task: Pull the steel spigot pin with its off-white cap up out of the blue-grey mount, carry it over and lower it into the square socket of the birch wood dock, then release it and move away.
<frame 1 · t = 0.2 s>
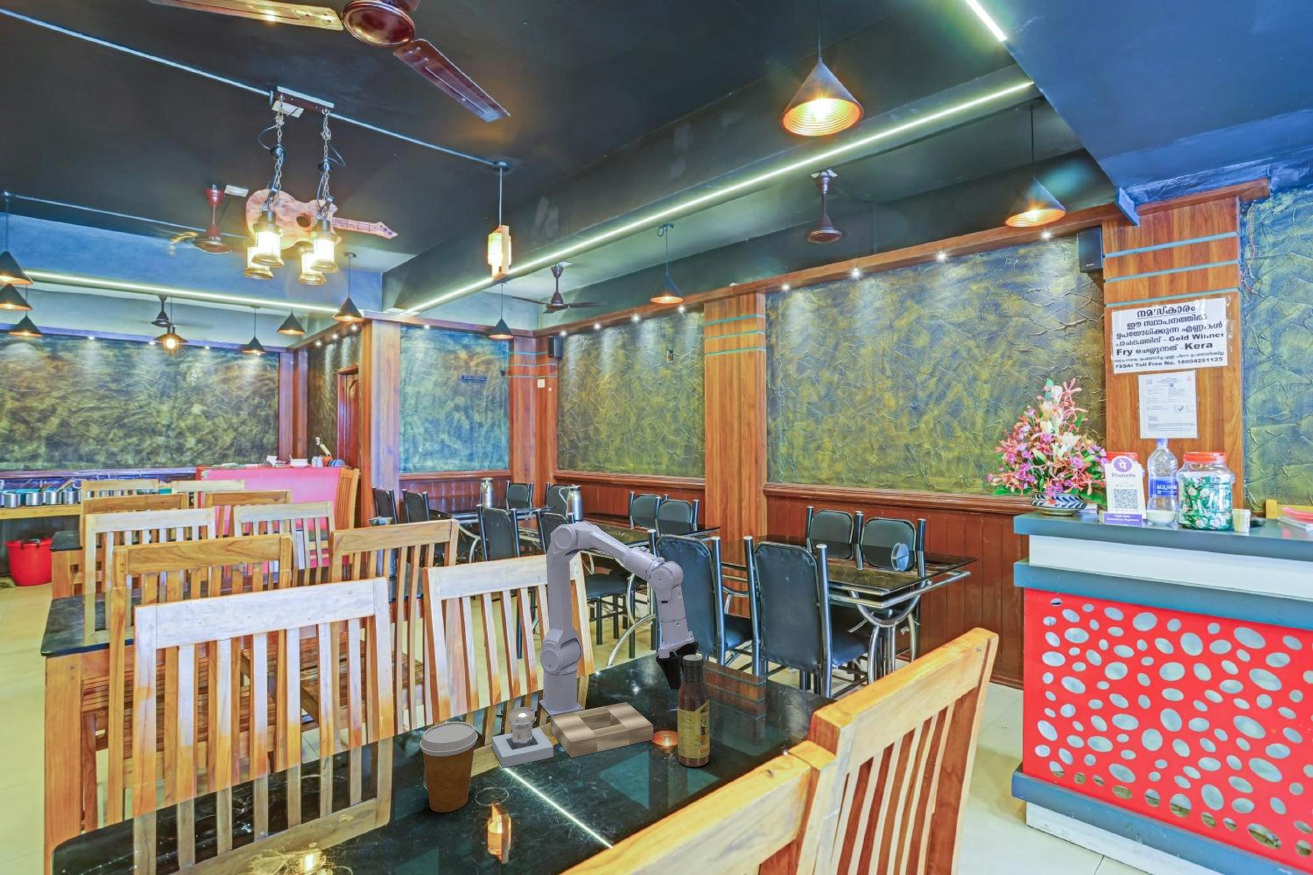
hand: (682, 682, 137), 10 cm above the table, tool pointing down, fingers open, 7 cm apart
steel pin: (522, 731, 128), in the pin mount
disposable coffee cup: (448, 803, 109), on the table
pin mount: (522, 751, 128), on the table
sauce bottle: (693, 761, 124), on the table
dock: (601, 734, 135), on the table
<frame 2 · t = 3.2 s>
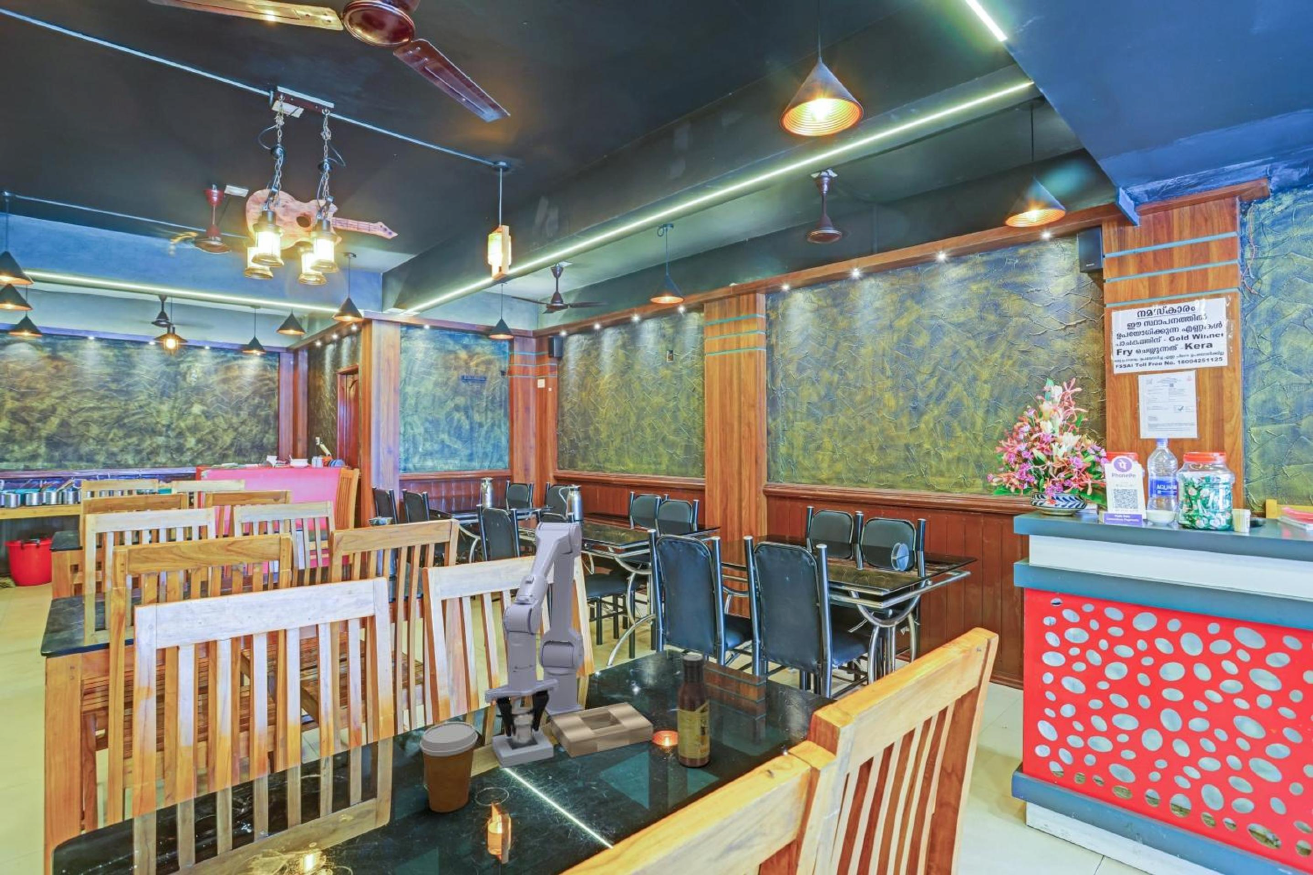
hand: (522, 731, 128), 4 cm above the table, tool pointing down, fingers closed on steel pin, 5 cm apart
steel pin: (522, 731, 128), in the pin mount, touching gripper
everything else where it was.
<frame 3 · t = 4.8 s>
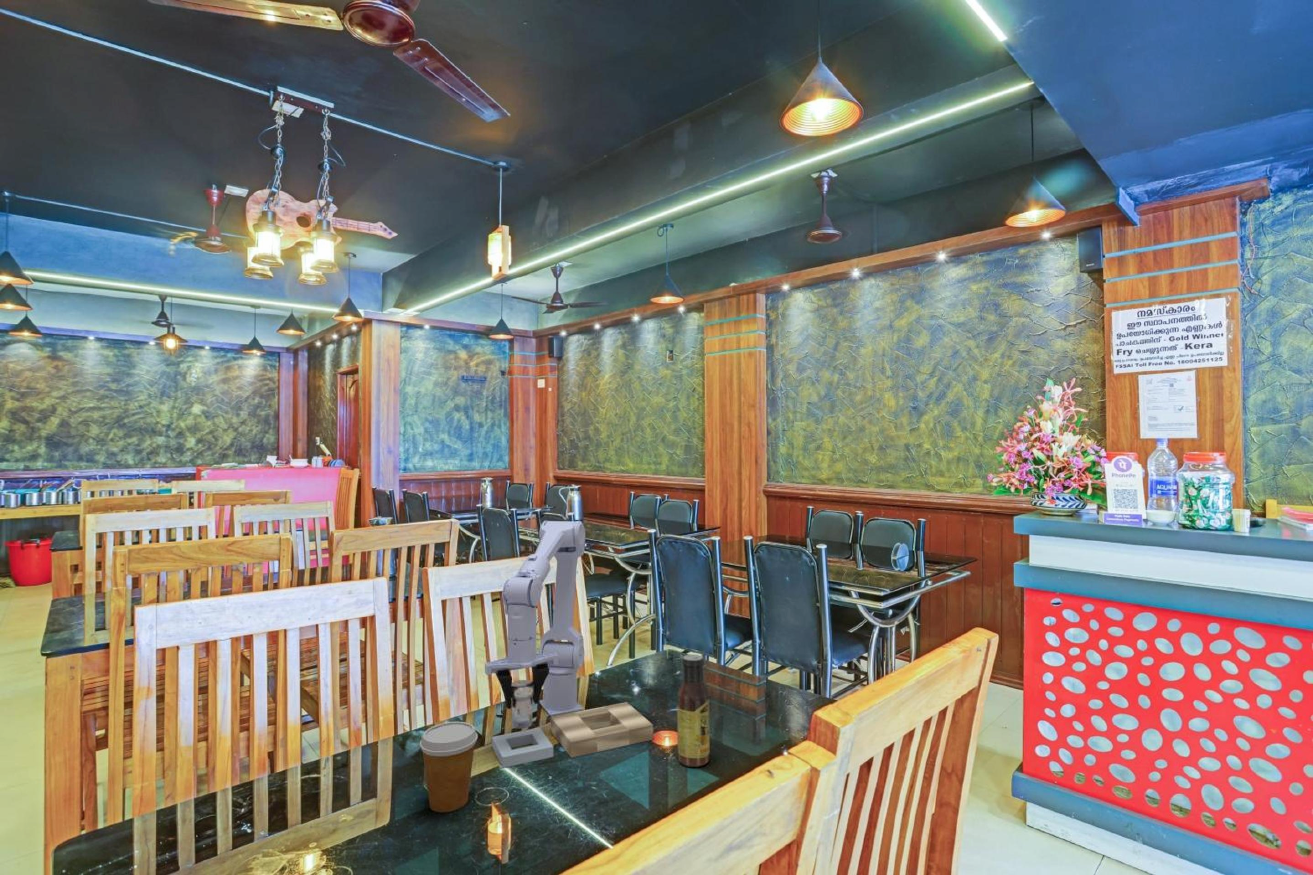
hand: (522, 704, 128), 9 cm above the table, tool pointing down, fingers closed on steel pin, 5 cm apart
steel pin: (522, 704, 128), point 9 cm above the table, touching gripper
everything else where it was.
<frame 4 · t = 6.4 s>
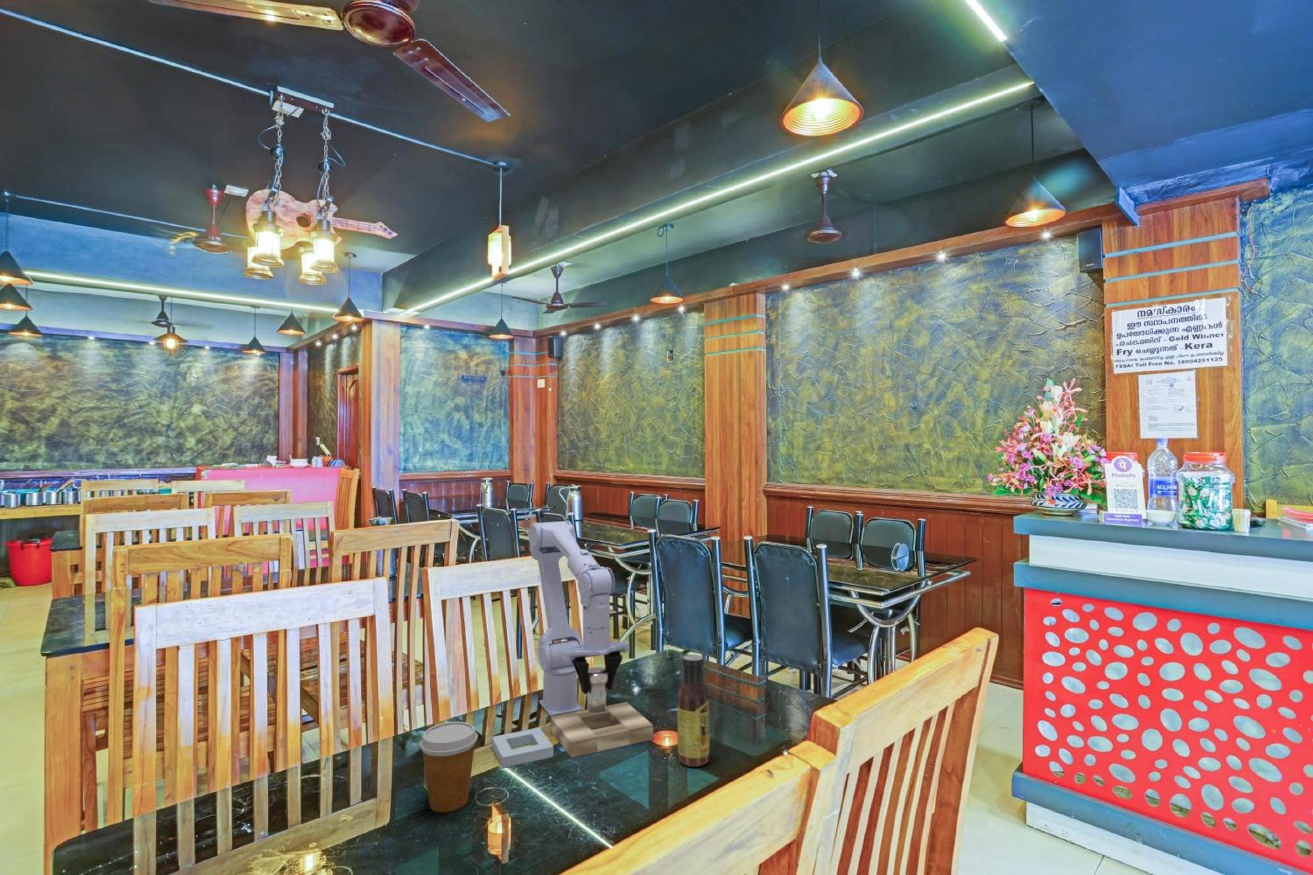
hand: (596, 690, 135), 10 cm above the table, tool pointing down, fingers closed on steel pin, 5 cm apart
steel pin: (596, 690, 135), point 10 cm above the table, touching gripper
everything else where it was.
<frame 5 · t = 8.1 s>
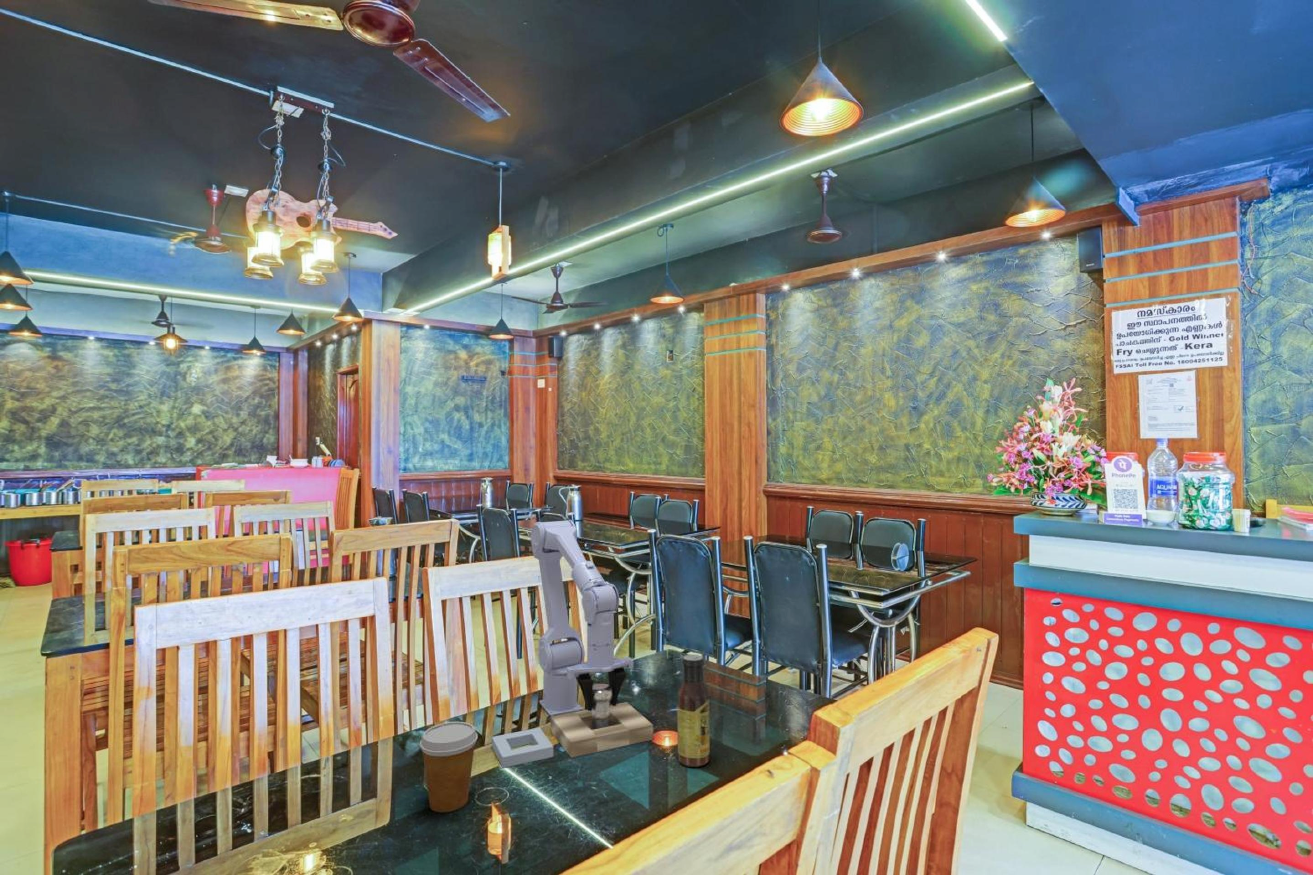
hand: (600, 706, 136), 6 cm above the table, tool pointing down, fingers closed on steel pin, 5 cm apart
steel pin: (600, 706, 135), point 6 cm above the table, touching gripper
everything else where it was.
when the fingers open (5 cm above the table, at t = 9.7 s): steel pin stays where it is, resting in dock.
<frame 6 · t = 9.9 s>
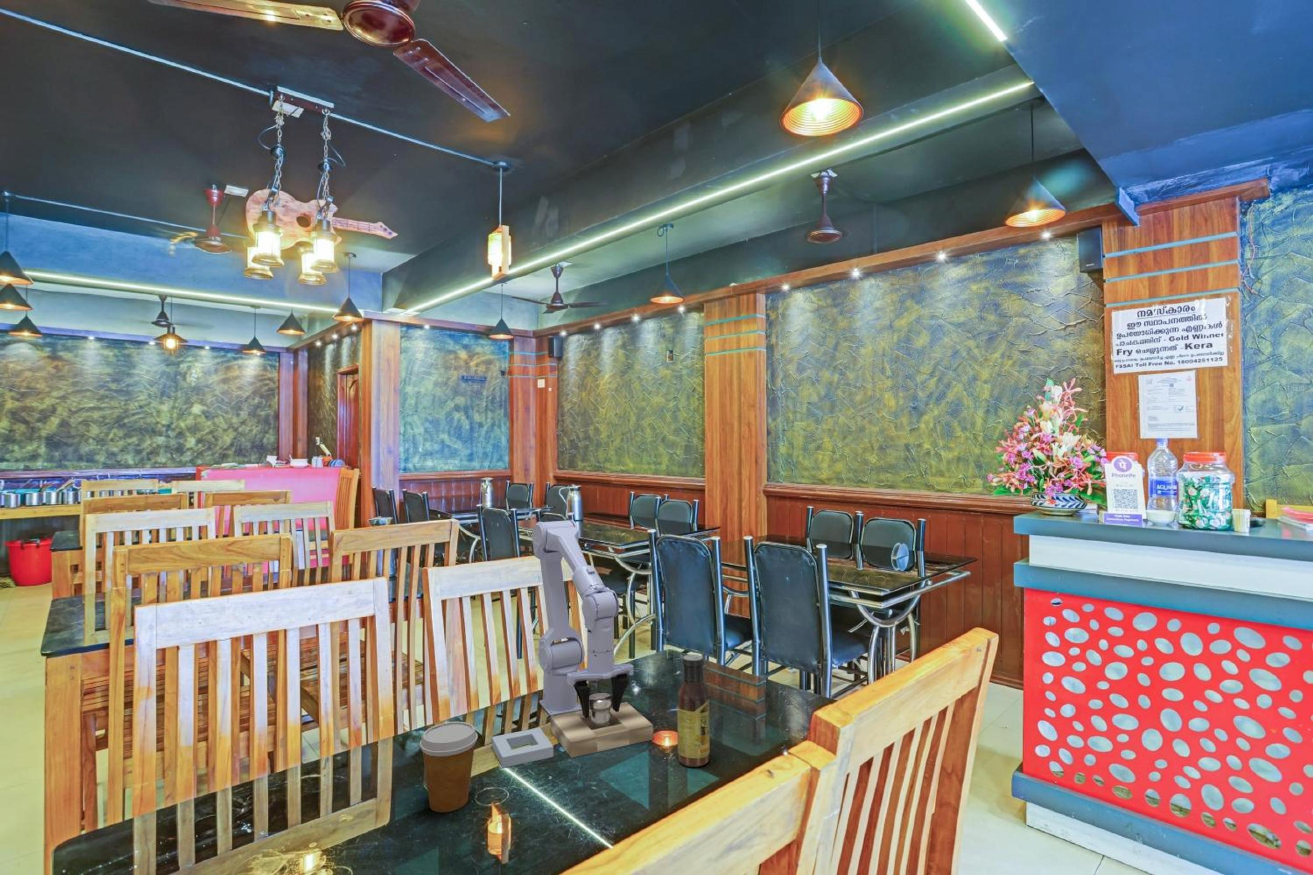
hand: (600, 713, 135), 5 cm above the table, tool pointing down, fingers open, 6 cm apart
steel pin: (600, 716, 135), in the dock
everything else where it was.
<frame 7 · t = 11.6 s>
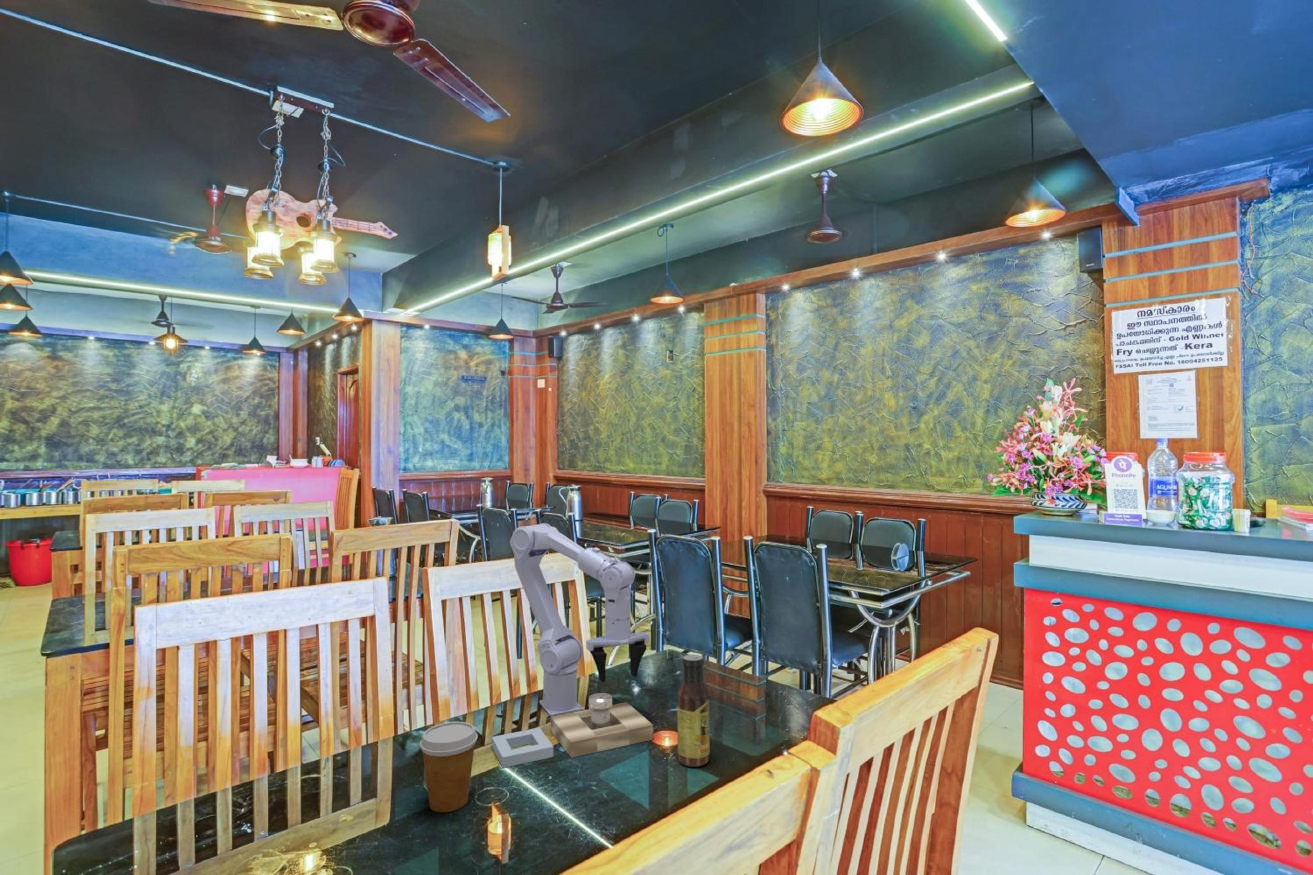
hand: (618, 677, 143), 9 cm above the table, tool pointing down, fingers open, 7 cm apart
nothing on the table moved.
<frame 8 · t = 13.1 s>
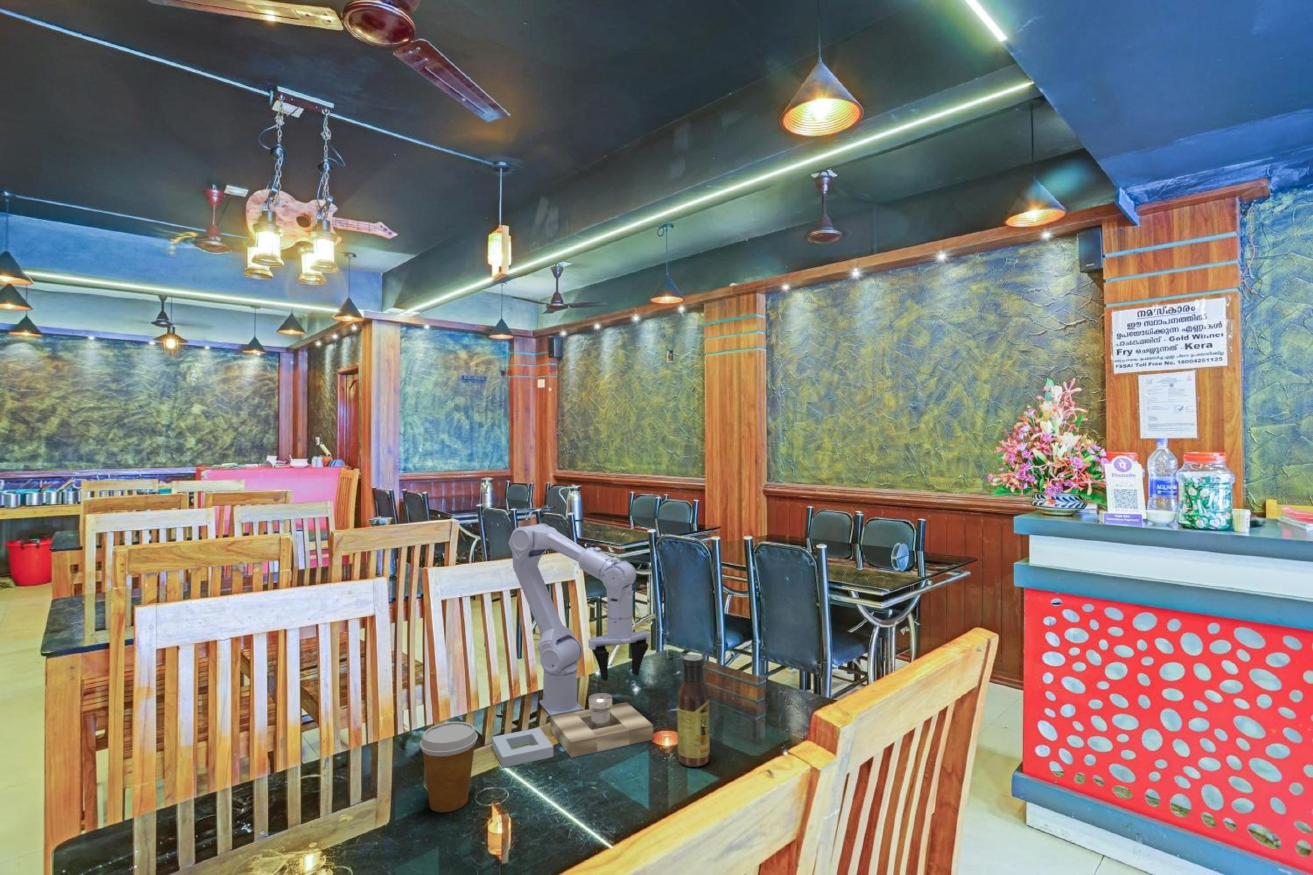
hand: (620, 676, 144), 9 cm above the table, tool pointing down, fingers open, 7 cm apart
nothing on the table moved.
at the end: steel pin 0.1 cm off-centre on the dock, point 4.0 cm above the dock's base; steel pin tilted 0°; the gripper is holding nothing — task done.
